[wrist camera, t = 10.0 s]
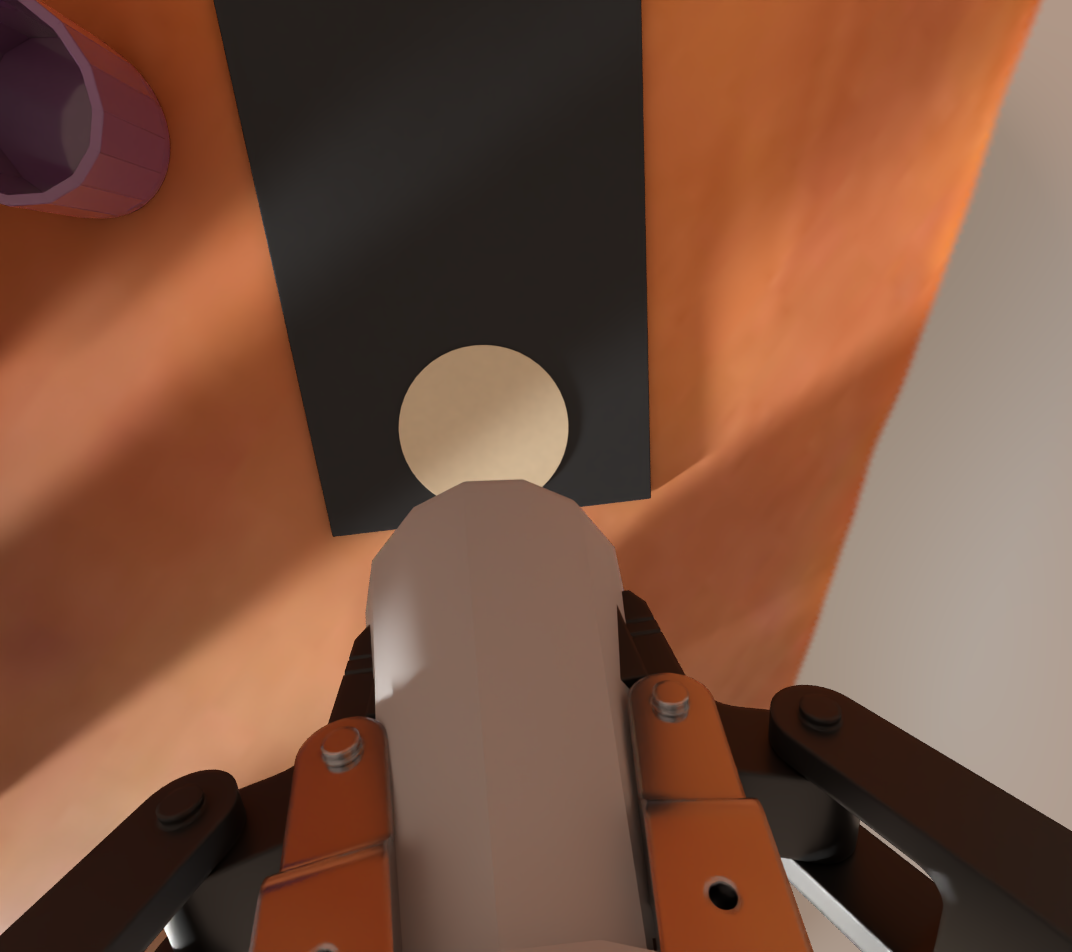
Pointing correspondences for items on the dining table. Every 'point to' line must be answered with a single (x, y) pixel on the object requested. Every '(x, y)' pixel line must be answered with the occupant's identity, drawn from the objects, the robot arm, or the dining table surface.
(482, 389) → the placemat
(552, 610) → the salt shaker
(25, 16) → the purple cup
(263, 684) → the dining table surface
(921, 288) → the dining table surface
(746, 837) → the robot arm
